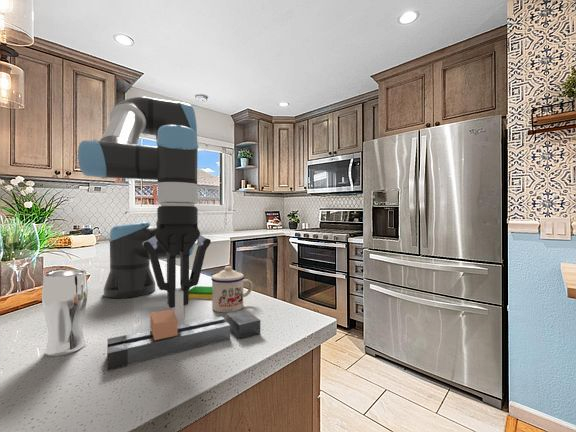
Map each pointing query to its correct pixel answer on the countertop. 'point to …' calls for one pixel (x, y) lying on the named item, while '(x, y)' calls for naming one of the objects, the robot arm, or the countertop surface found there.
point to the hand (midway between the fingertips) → (178, 321)
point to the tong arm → (149, 334)
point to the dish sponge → (200, 292)
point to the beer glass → (64, 310)
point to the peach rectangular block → (163, 324)
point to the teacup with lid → (228, 290)
